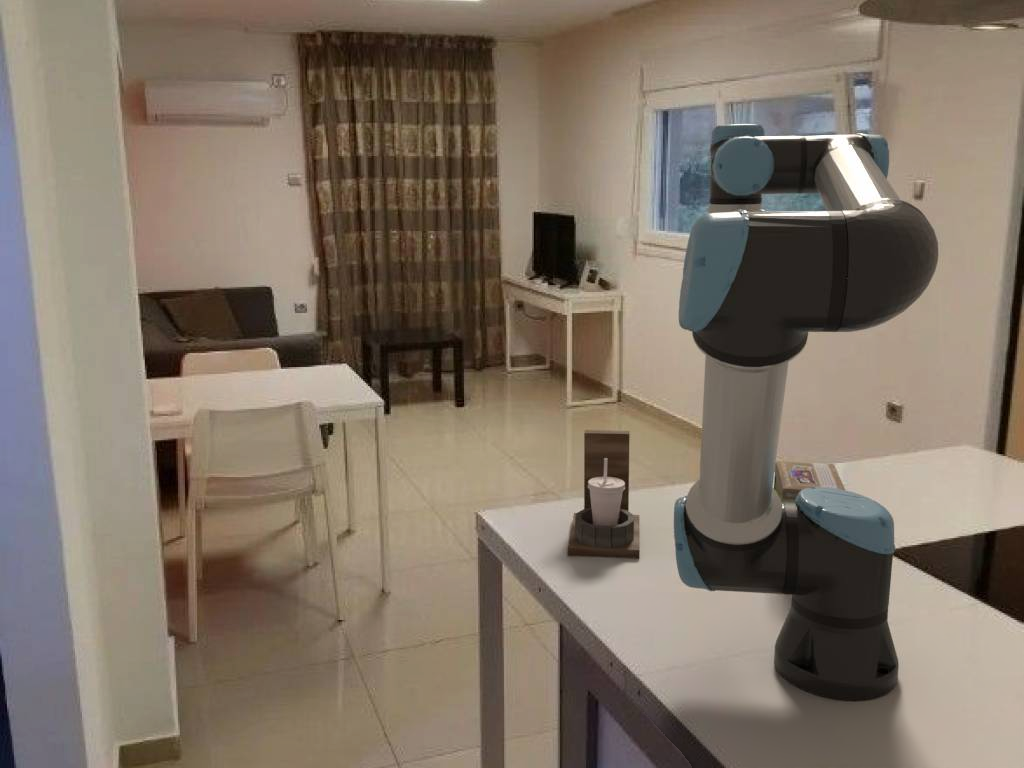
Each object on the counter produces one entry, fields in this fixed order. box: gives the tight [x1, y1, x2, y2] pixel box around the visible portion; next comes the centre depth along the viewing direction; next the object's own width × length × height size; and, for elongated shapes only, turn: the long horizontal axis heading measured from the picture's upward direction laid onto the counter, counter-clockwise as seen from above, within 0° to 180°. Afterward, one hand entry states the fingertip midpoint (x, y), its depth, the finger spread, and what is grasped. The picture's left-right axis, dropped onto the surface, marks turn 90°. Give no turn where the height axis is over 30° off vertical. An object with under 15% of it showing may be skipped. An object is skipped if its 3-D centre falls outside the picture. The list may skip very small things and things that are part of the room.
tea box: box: [773, 460, 846, 502], centre depth 152 cm, size 15×10×15 cm, turn 168°
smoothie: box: [588, 458, 625, 526], centre depth 159 cm, size 6×6×14 cm
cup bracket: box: [567, 429, 641, 559], centre depth 161 cm, size 16×12×18 cm
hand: (728, 374), depth 141 cm, fingers open, 13 cm apart
